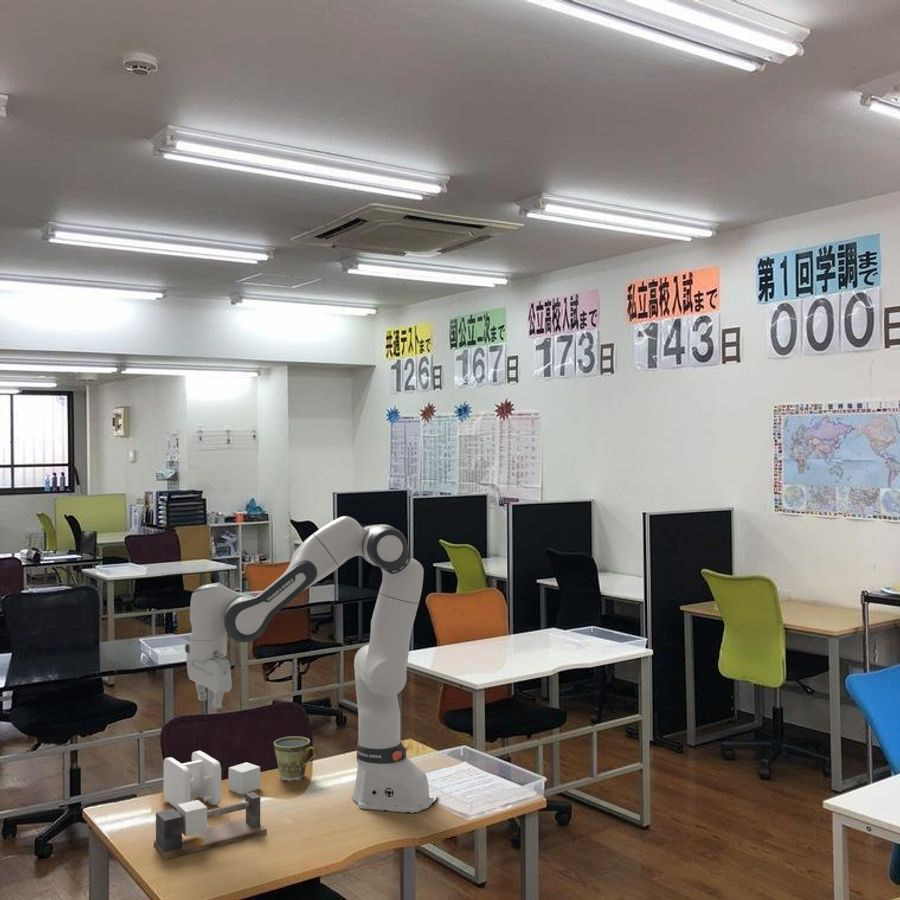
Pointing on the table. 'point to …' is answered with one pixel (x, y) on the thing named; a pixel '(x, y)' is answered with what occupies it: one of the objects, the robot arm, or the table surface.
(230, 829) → the rail
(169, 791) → the cable organizer
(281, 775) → the ceramic cup
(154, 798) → the table surface
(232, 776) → the light gray cube
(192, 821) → the white cube
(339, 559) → the robot arm
